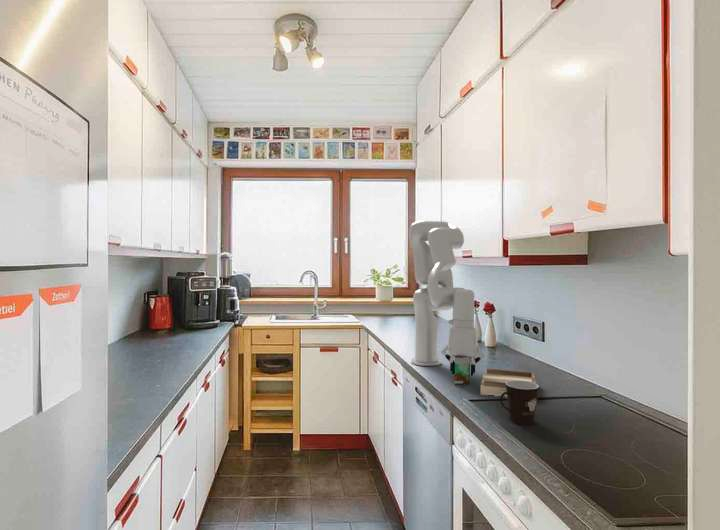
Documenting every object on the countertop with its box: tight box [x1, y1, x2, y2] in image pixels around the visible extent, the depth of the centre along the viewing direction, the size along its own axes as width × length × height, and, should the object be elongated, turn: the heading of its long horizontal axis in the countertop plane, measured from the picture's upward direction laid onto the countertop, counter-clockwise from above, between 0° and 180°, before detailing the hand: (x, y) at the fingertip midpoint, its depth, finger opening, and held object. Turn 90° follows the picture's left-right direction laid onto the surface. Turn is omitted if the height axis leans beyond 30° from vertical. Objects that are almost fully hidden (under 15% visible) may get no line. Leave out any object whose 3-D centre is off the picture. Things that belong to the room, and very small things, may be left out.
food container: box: [454, 356, 472, 386], centre depth 162 cm, size 12×6×10 cm, turn 168°
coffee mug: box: [499, 380, 540, 426], centre depth 124 cm, size 12×9×10 cm
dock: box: [480, 368, 537, 398], centre depth 153 cm, size 18×17×4 cm
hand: (462, 373), depth 162 cm, fingers closed on food container, 5 cm apart
